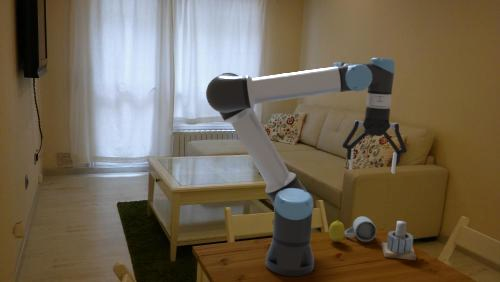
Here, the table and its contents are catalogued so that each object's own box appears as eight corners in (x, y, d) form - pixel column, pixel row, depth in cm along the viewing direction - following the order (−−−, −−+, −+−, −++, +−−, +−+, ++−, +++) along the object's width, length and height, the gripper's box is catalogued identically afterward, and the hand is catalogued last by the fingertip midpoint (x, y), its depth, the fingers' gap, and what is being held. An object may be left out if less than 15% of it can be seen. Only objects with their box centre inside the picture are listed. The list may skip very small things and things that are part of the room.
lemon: (324, 241, 166) (326, 219, 164) (334, 237, 170) (336, 216, 168) (337, 246, 162) (339, 224, 160) (346, 242, 166) (348, 221, 164)
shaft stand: (384, 256, 155) (388, 225, 153) (381, 246, 164) (384, 216, 162) (415, 260, 154) (419, 229, 152) (410, 249, 162) (414, 219, 160)
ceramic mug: (370, 233, 175) (372, 214, 174) (375, 242, 167) (377, 222, 165) (342, 232, 175) (344, 213, 174) (346, 241, 167) (348, 221, 166)
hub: (388, 252, 155) (390, 238, 154) (385, 243, 163) (386, 229, 162) (413, 255, 154) (415, 241, 153) (409, 245, 162) (410, 232, 161)
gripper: (339, 105, 146) (333, 170, 150) (421, 110, 143) (413, 177, 147) (338, 103, 153) (332, 165, 158) (416, 108, 150) (408, 171, 154)
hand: (371, 171), depth 152 cm, fingers open, 13 cm apart
